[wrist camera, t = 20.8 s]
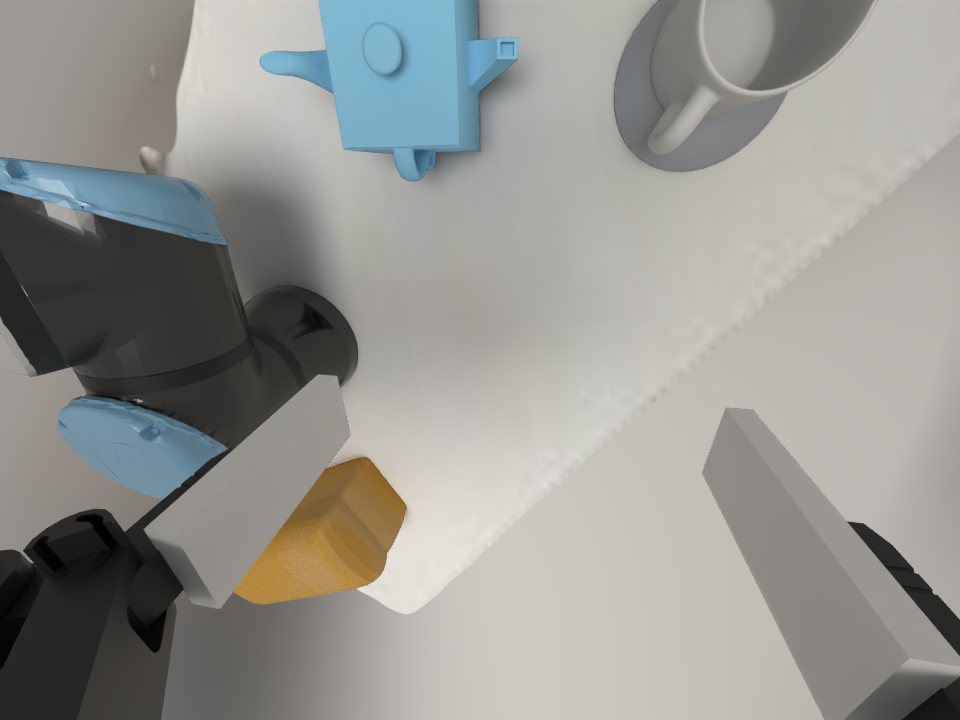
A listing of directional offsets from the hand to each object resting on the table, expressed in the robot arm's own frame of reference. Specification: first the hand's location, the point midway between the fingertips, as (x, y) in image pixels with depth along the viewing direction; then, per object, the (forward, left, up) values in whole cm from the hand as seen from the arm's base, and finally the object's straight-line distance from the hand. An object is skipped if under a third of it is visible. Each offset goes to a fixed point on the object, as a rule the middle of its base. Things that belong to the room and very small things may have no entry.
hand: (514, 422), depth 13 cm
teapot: (-11, +15, -29) cm, 34 cm away
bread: (-32, -42, -29) cm, 61 cm away
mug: (+11, +14, -28) cm, 33 cm away
